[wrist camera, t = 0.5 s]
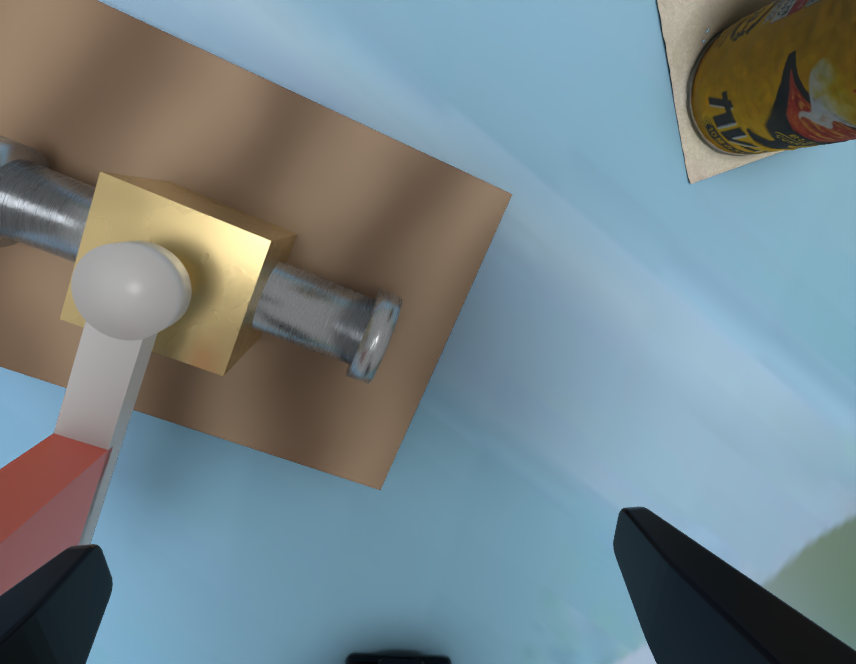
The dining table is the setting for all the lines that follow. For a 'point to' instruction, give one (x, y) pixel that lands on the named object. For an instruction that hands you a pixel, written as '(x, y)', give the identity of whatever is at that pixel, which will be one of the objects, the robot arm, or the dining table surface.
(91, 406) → the valve lever
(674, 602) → the robot arm
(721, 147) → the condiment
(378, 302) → the ball valve
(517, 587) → the dining table surface
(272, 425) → the mounting board
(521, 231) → the dining table surface
